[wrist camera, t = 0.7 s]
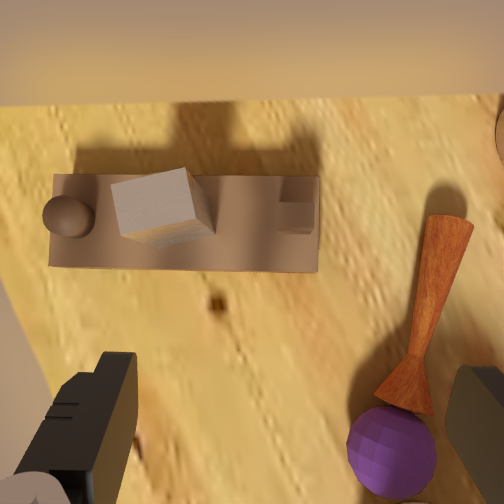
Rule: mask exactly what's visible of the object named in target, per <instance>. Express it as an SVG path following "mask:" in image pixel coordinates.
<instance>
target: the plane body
mask: <svg viewBox="0 0 504 504" xmlns="http://www.w3.org/2000/svg"><path fill="white" fill-rule="evenodd" d="M143 176H145V175H118V174H54V178H53V195H52V199H51V200H49V201H48V202H47V204H46V205H45V207H44V209H43V214H42V217H43V222H44V225H45V226H46V228H47V229H48V230H49V231H50V247H49V264H48V266H52V267H62V268H92V269H138V270H185V271H231V272H278V273H317V272H318V238H319V176H233V175H192V177H193V178H194V179H195V181H196V182H197V183H198V184H199V186H200V187H201V188H202V190H203V191H204V192H205V193H206V195H207V197H208V202H209V206H210V211H211V216H212V220H213V225H214V229H215V234H216V235H212V236H208V237H203V238H199V239H195V240H190V241H186V242H182V243H177V244H173V245H169V246H164V247H160V248H156V247H153V246H150V245H147V244H144V243H141V242H138V241H135V240H132V239H129V238H126V237H123V236H121V235H120V230H119V225H118V220H117V215H116V210H115V205H114V200H113V195H112V190H111V184H116V183H120V182H124V181H128V180H132V179H137V178H141V177H143Z"/></svg>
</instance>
